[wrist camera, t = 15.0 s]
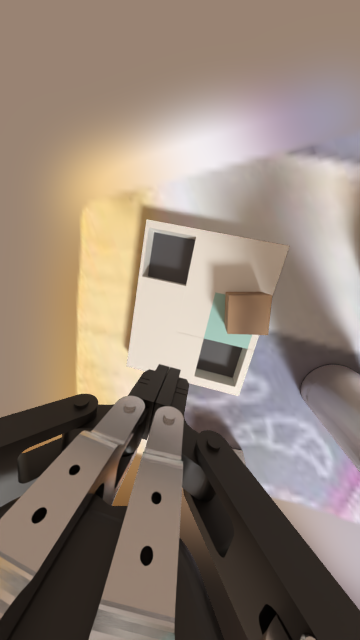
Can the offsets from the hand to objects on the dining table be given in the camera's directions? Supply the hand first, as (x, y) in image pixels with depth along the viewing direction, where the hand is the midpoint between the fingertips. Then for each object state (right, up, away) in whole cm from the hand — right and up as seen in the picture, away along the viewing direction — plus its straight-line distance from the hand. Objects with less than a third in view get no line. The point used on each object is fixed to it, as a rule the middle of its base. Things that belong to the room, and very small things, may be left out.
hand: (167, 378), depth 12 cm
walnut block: (+10, +6, +15) cm, 19 cm away
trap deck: (+4, +5, +19) cm, 20 cm away
